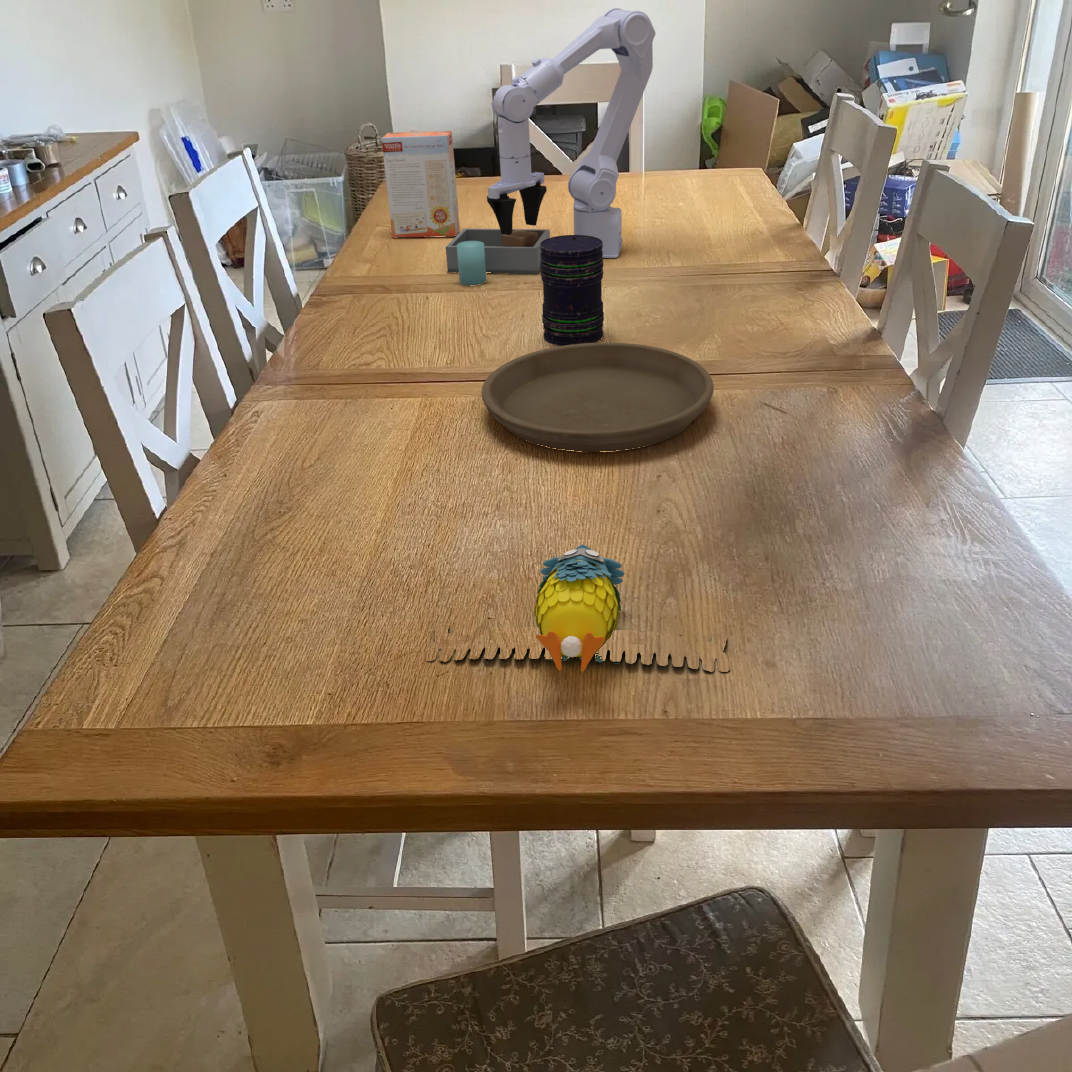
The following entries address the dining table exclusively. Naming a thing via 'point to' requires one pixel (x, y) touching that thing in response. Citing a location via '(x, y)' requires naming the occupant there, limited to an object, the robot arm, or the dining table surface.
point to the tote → (499, 251)
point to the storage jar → (572, 289)
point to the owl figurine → (577, 604)
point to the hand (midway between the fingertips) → (518, 229)
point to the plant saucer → (598, 396)
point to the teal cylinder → (471, 262)
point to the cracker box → (421, 183)
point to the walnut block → (519, 239)
